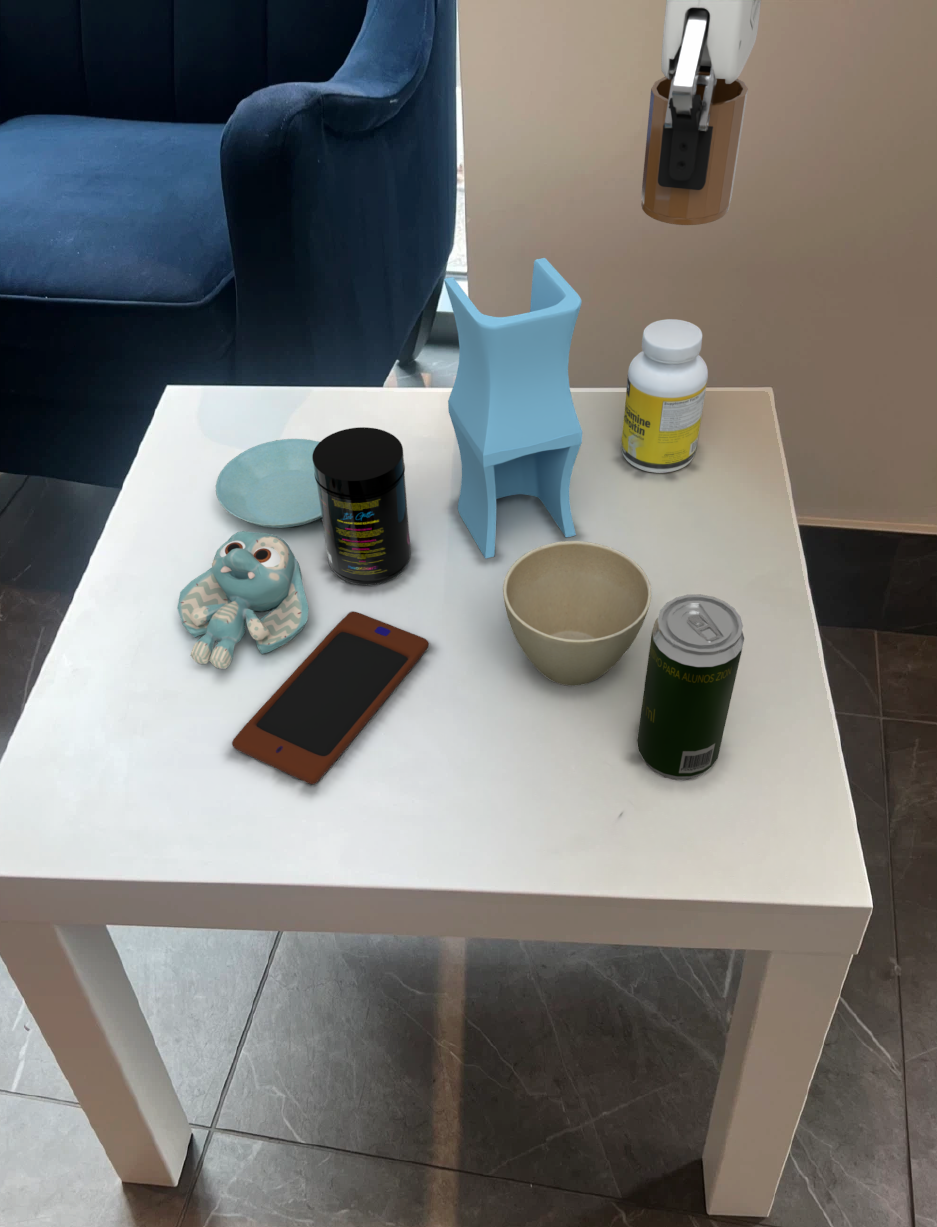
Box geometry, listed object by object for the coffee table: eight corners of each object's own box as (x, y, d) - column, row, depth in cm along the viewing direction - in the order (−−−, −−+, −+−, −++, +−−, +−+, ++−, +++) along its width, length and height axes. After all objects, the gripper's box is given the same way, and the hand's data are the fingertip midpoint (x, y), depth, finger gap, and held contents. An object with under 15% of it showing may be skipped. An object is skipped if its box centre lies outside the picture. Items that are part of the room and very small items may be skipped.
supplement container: (422, 577, 87) (414, 468, 80) (339, 598, 86) (323, 489, 78) (398, 526, 92) (389, 419, 84) (319, 545, 90) (302, 438, 83)
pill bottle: (621, 431, 99) (631, 311, 91) (694, 434, 98) (712, 313, 90) (619, 475, 95) (630, 353, 86) (696, 478, 94) (715, 355, 86)
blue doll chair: (538, 480, 95) (545, 256, 80) (576, 535, 90) (590, 305, 75) (452, 502, 93) (442, 278, 79) (484, 558, 88) (481, 329, 74)
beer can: (734, 764, 73) (766, 635, 64) (666, 795, 71) (688, 667, 63) (686, 710, 76) (710, 580, 67) (620, 739, 75) (635, 610, 66)
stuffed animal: (123, 614, 78) (197, 490, 84) (155, 669, 84) (223, 550, 90) (258, 647, 75) (326, 516, 81) (282, 702, 81) (344, 577, 87)
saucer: (384, 508, 93) (382, 486, 92) (261, 564, 89) (257, 542, 88) (314, 444, 100) (310, 422, 99) (197, 493, 96) (191, 472, 95)
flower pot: (483, 692, 78) (482, 619, 73) (528, 601, 85) (529, 528, 79) (621, 728, 75) (629, 655, 70) (656, 631, 82) (667, 557, 76)
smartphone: (431, 638, 81) (313, 780, 72) (431, 647, 82) (315, 789, 73) (350, 606, 84) (228, 740, 75) (351, 616, 84) (230, 749, 76)
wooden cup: (696, 180, 83) (711, 65, 77) (747, 212, 79) (766, 93, 73) (624, 199, 82) (634, 83, 76) (672, 233, 78) (686, 112, 72)
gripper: (772, -106, 59) (722, 225, 72) (813, -175, 70) (763, 123, 83) (633, -110, 61) (609, 212, 74) (693, -176, 72) (664, 115, 85)
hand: (691, 163), depth 78 cm, fingers closed on wooden cup, 6 cm apart
